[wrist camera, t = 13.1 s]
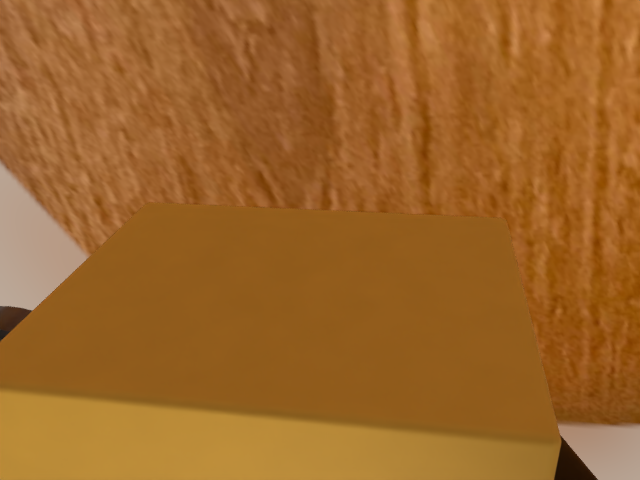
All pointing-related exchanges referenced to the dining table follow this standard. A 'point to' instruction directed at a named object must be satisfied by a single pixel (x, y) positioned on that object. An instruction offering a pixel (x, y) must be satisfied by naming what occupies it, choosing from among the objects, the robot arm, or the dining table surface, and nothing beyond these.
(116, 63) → the dining table surface
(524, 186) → the dining table surface
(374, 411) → the yellow toy cube
